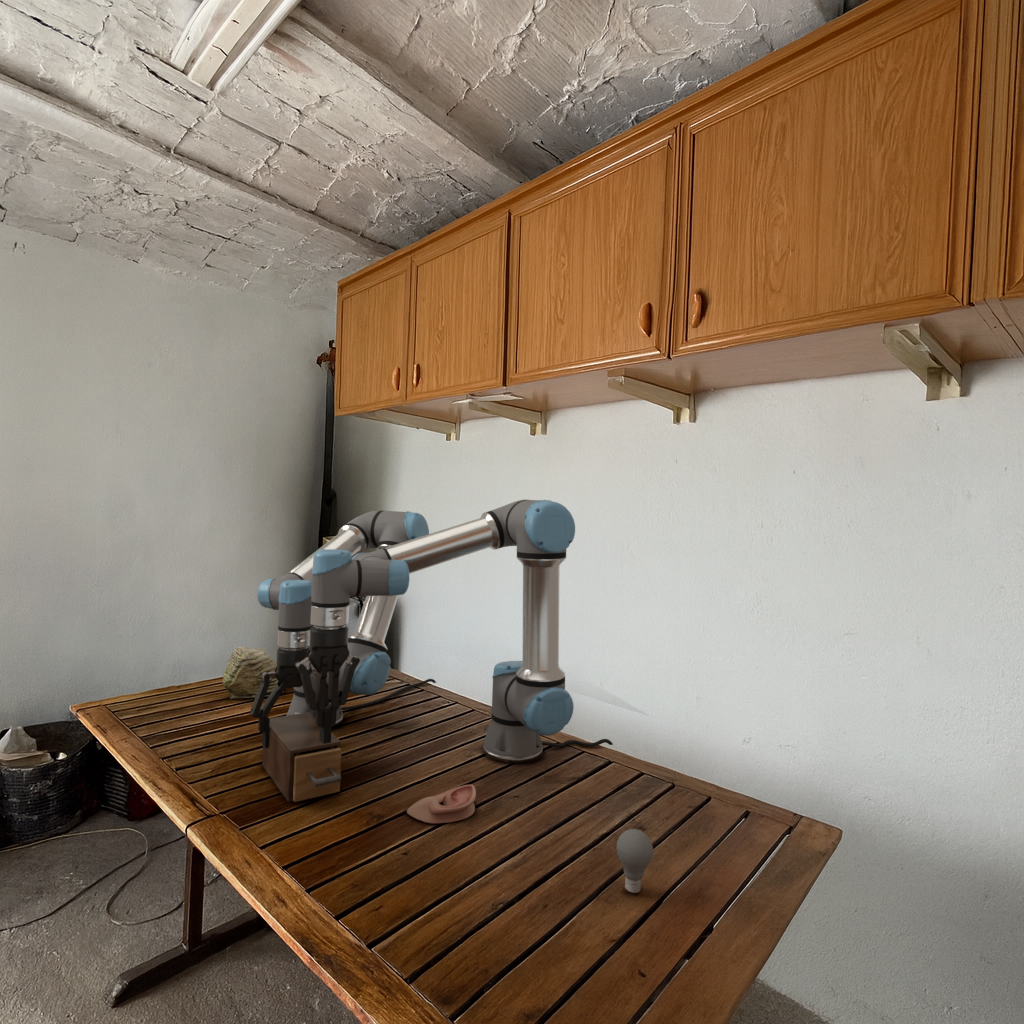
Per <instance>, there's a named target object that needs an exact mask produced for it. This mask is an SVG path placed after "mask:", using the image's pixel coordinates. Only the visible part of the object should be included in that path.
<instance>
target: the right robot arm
mask: <svg viewBox="0 0 1024 1024" xmlns="http://www.w3.org/2000/svg"><path fill="white" fill-rule="evenodd" d="M575 535H576V523H575V519H574V517H573V515H572V513H571V512H570V511H569V509H568V508H567V507H566V506H565V505H563V504H561V503H559V502H556V501H553V500H550V499H538V500H537V499H520V500H516V501H513V502H511V503H508V504H505V505H502V506H499V507H497V508H494V509H491V510H488V511H485V512H482V514H481V516H480V518H477V519H474V520H470V521H467V522H464V523H461V524H457V525H453V526H450V527H448V528H444V529H441V530H438V531H434V532H431V533H429V534H428V535H425V536H422V537H418V538H415V539H412V540H409V541H405V542H402V543H399V544H396V545H393V546H389V547H386V548H384V549H380V550H377V549H376V550H374V551H373V550H372V551H371V552H368V551H367V552H366V551H363V552H362V553H359V554H354V555H353V556H352V557H351V552H350V551H347V550H335V549H326V550H319V551H317V550H316V551H317V552H316V551H315V552H316V553H315V554H314V559H313V570H312V595H311V618H310V624H311V625H312V627H311V628H310V648H309V651H308V653H307V657H306V658H305V659H304V660H302V661H301V662H296V663H295V667H296V668H297V669H298V671H299V672H300V676H301V681H302V685H303V690H304V695H305V699H306V704H307V706H308V707H309V708H310V709H311V710H316V722H315V723H316V725H317V726H318V727H320V734H319V740H320V741H321V742H322V743H323V744H326V743H331V733H332V729H331V728H332V725H334V724H335V723H336V711H337V710H338V709H339V706H341V707H342V706H345V705H346V704H347V700H348V697H349V693H350V692H349V690H350V686H351V682H352V678H353V675H354V671H355V668H356V667H357V665H358V664H359V662H360V659H359V658H357V657H356V656H354V655H351V654H350V652H349V649H348V637H349V627H348V626H347V625H348V624H349V623H350V599H351V597H366V596H393V595H398V596H403V595H405V594H406V593H407V591H408V590H409V585H410V574H413V573H416V572H419V571H423V570H425V569H428V568H431V567H434V566H438V565H441V564H443V563H446V562H450V561H452V560H457V559H458V558H461V557H465V556H468V555H470V554H473V553H477V552H479V551H483V550H485V549H486V550H487V549H492V550H494V551H496V550H499V549H502V548H506V547H507V548H508V547H516V559H517V560H518V561H519V562H520V563H521V564H522V660H507V661H501V662H498V663H496V664H495V665H494V667H493V672H492V673H493V674H492V694H491V697H492V698H491V719H490V720H491V721H490V723H489V724H486V725H485V726H484V727H483V733H485V737H484V740H483V742H482V753H483V754H484V755H485V756H486V757H487V758H489V759H490V760H493V761H496V762H499V763H505V764H525V763H526V764H527V763H531V762H534V761H537V760H539V759H540V758H542V756H543V752H544V751H543V750H544V748H543V747H545V746H546V747H550V748H551V747H552V748H559V749H561V748H564V747H566V746H569V745H578V746H580V747H586V748H596V747H598V746H600V745H603V744H604V743H606V744H608V745H609V746H613V745H614V744H613V742H612V741H611V739H609V738H602V739H599V740H596V741H595V742H586V741H585V742H584V741H581V740H575V739H567V740H565V741H563V742H561V743H555V742H550V741H543V740H542V738H541V737H543V736H544V737H549V736H553V735H555V734H558V733H560V732H561V731H562V730H564V728H565V727H566V726H567V725H568V724H569V722H570V721H571V720H572V717H573V714H574V709H575V708H574V707H575V706H574V701H573V697H572V695H571V694H570V693H569V692H568V690H566V672H565V671H564V670H563V669H562V668H561V667H560V580H561V579H560V576H561V575H560V567H561V564H563V562H564V561H566V559H567V549H568V548H569V547H570V545H571V544H572V543H573V541H574V539H575ZM345 660H346V666H345V669H344V672H343V676H342V680H341V684H340V687H339V690H338V682H339V675H340V668H341V666H342V665H343V663H344V662H345ZM309 663H311V664H312V666H313V667H314V668H315V669H316V700H315V697H314V692H313V688H312V683H311V678H310V674H309V672H308V670H309V668H310V666H309ZM327 672H328V673H329V684H328V706H329V707H325V698H326V678H327Z"/></svg>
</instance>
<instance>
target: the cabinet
mask: <svg viewBox="0 0 1024 1024" xmlns="http://www.w3.org/2000/svg"><path fill="white" fill-rule="evenodd" d="M269 719H270V724H269V747H267V748H265V747H264V746H263V745H262V756H261V757H262V760H261V766H262V768H264V770H265V772H266V773H267V775H269V777H270V778H271V780H272V781H273V783H274V784H275V786H276V787H277V789H278V790H279V792H280V793H281V794H282V795H283V797H284V799H285V800H286V801H287V803H293V802H294V800H293V768H294V754H296V753H301V752H306V751H312V750H317V749H322V748H327V747H332V746H333V747H334V749H335V748H340V749H341V744H342V741H341V740H340V739H339V738H338V737H337V736H336V735H335V734H334V733H333V732H331V743H326V744H323V743H322V742H321V741H320V740H319V734H320V727H318V726H317V725H316V723H315V722H316V718H315V717H314V716H313V715H312V714H311V713H310V712H307V713H301V714H294V715H288V716H286V715H282V716H275V717H269Z"/></svg>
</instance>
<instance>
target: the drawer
mask: <svg viewBox="0 0 1024 1024" xmlns="http://www.w3.org/2000/svg"><path fill="white" fill-rule="evenodd" d="M341 773H342V748H341V747H340V748H335V749H334V747H333V746H332V747H327V748H322V749H317V750H312V751H306V752H301V753H296V754H294V768H293V800H294V801H293V802H294V803H298V802H301V801H305V800H310V799H315V798H318V797H323V796H327V795H330V794H331V795H332V794H335V793H339V792H341V781H342V775H341Z"/></svg>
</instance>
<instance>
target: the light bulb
mask: <svg viewBox="0 0 1024 1024" xmlns="http://www.w3.org/2000/svg"><path fill="white" fill-rule="evenodd" d="M615 849H616V854H617V857H618V859H619V861H620V863H621V865H622V867H623V873H624V874H623V875H624V876H625V878H624V888H625V890H627V891H628V892H630V893H634V894H635V893H639V892H640V891H641V889H642V887H641V886H642V879H643V877H644V875H645V871H646V868H647V867H648V866H649V864H650V863H651V861H652V859H653V855H654V847H653V843H652V841H651V838H649V836H648V835H647V834H646V833H645V832H643V831H642V830H641V829H636V828H629V829H627V830H625V831H623V832H622V833H621V834H620V835H619V837H618V839H617V841H616V847H615Z"/></svg>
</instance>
